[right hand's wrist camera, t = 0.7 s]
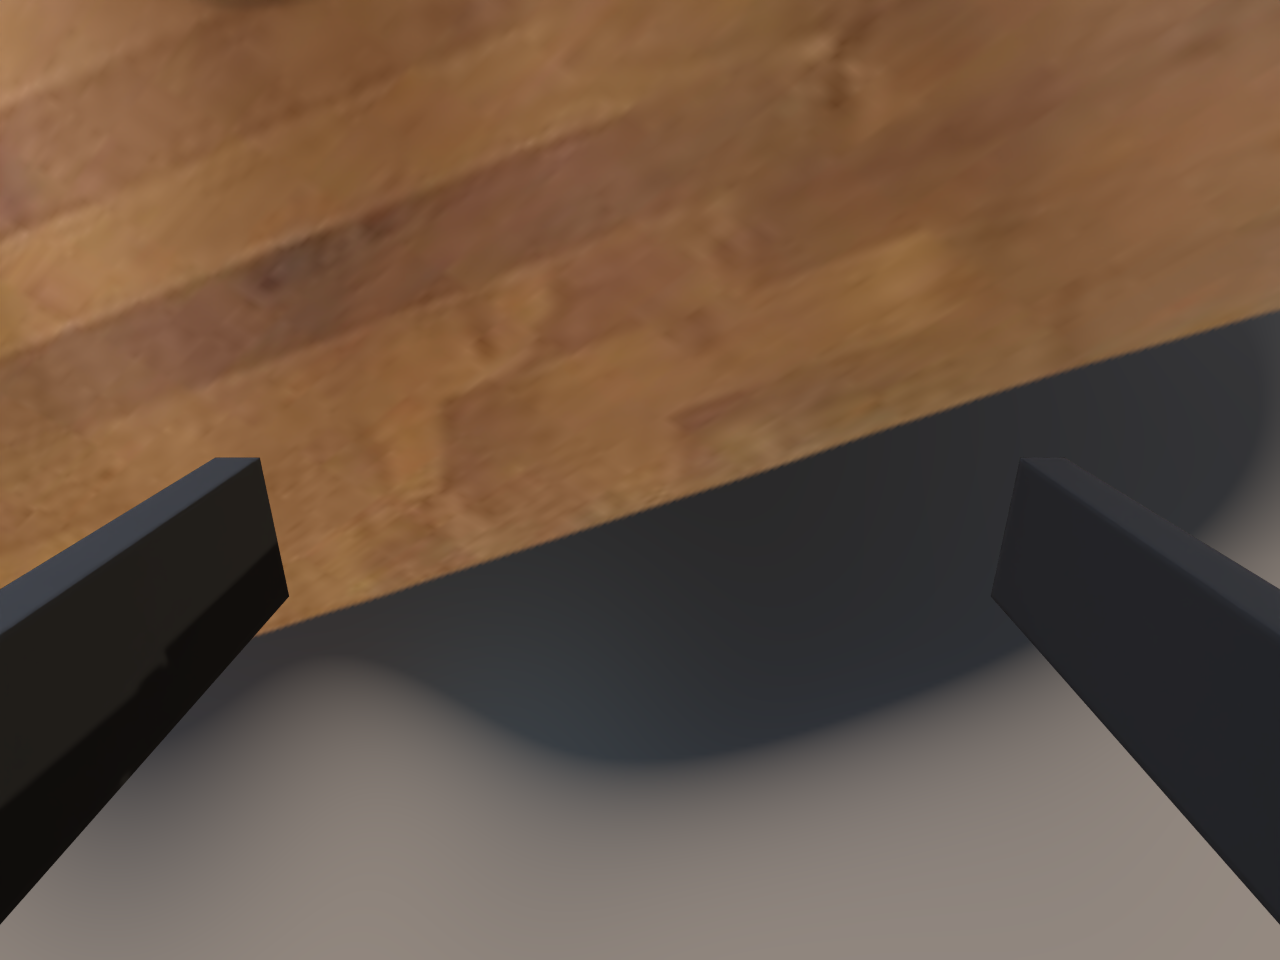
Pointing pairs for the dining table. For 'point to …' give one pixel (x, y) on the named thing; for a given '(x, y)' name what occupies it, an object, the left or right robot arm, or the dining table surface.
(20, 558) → the dining table surface
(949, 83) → the dining table surface
